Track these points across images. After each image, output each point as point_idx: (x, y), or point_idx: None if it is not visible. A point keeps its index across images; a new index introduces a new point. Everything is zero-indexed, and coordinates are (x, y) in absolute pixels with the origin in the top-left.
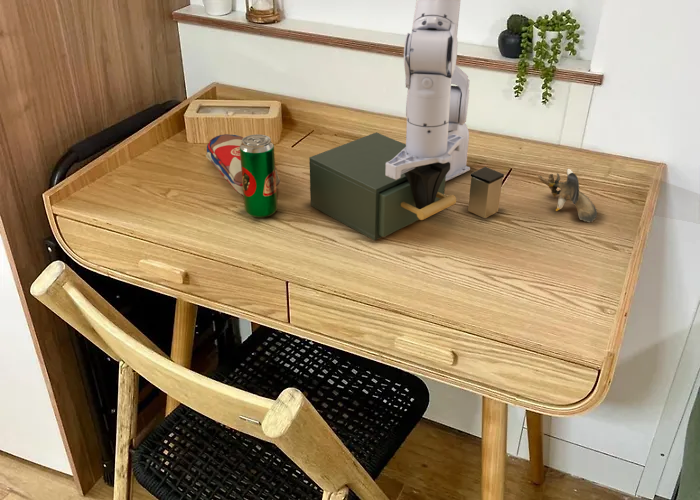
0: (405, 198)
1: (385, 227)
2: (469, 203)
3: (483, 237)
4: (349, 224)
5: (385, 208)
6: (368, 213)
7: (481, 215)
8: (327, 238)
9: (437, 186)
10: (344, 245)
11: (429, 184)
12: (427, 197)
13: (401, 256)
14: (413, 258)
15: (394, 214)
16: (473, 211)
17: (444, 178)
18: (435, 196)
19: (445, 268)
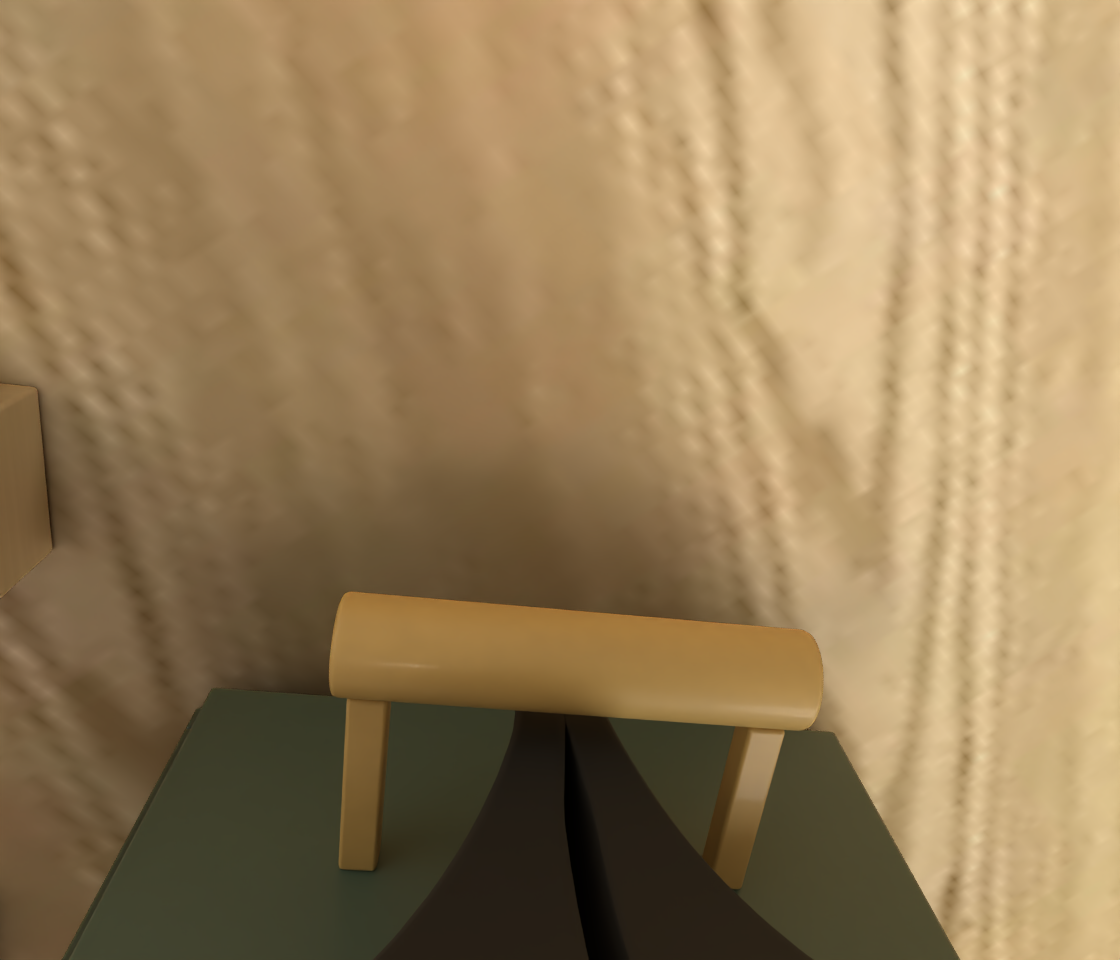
0: None
1: (847, 779)
2: (16, 575)
3: (295, 236)
4: None
5: (927, 911)
6: None
7: (34, 427)
8: (948, 920)
9: (527, 840)
10: (966, 827)
11: (725, 913)
12: (649, 792)
13: (903, 539)
14: (883, 469)
15: (782, 828)
16: (41, 506)
17: (121, 896)
18: (519, 760)
19: (882, 222)
